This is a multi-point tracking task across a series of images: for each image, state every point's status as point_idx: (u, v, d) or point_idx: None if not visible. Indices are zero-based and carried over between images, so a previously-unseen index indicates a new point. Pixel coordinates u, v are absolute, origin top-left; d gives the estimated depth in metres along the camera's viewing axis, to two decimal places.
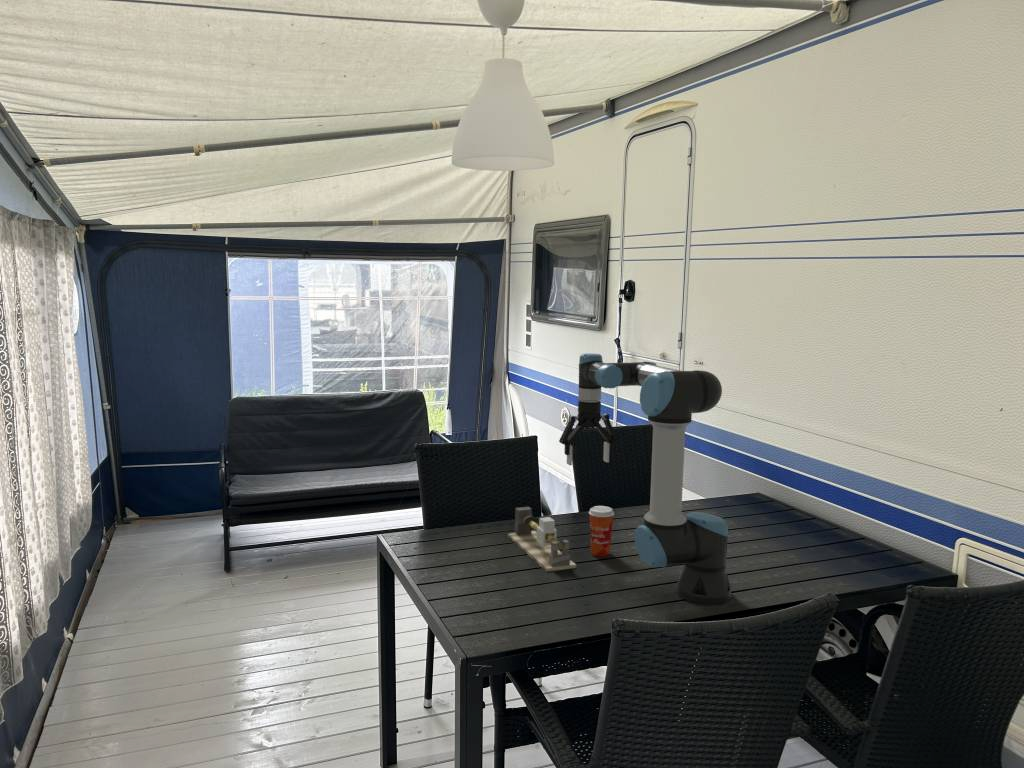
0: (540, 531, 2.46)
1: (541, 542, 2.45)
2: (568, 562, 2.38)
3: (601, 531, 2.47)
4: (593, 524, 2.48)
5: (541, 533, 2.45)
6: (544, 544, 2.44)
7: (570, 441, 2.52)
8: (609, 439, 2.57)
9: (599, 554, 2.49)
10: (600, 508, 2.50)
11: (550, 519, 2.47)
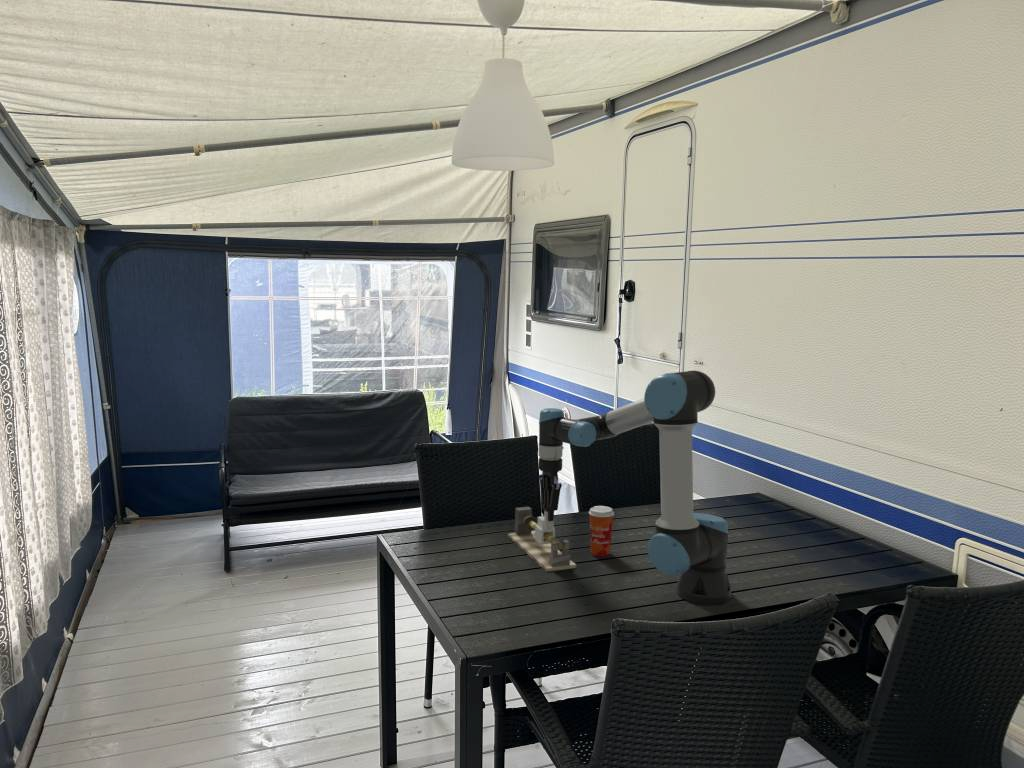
0: (538, 530, 2.47)
1: (539, 541, 2.46)
2: (568, 562, 2.38)
3: (601, 531, 2.47)
4: (593, 524, 2.48)
5: (539, 532, 2.46)
6: (542, 543, 2.46)
7: (544, 503, 2.45)
8: (547, 506, 2.42)
9: (599, 554, 2.49)
10: (600, 508, 2.50)
11: None
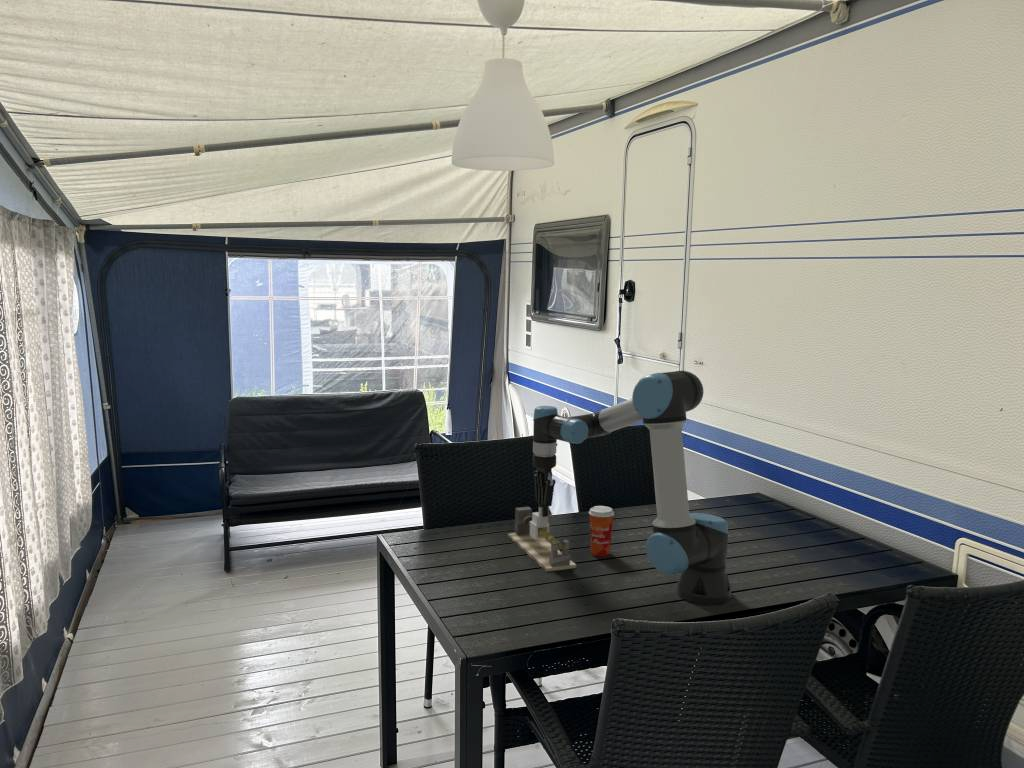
0: (533, 525, 2.51)
1: (534, 536, 2.51)
2: (568, 562, 2.38)
3: (602, 531, 2.47)
4: (593, 524, 2.48)
5: (534, 527, 2.50)
6: (537, 538, 2.50)
7: (538, 499, 2.49)
8: (541, 502, 2.47)
9: (599, 554, 2.49)
10: (600, 508, 2.50)
11: None
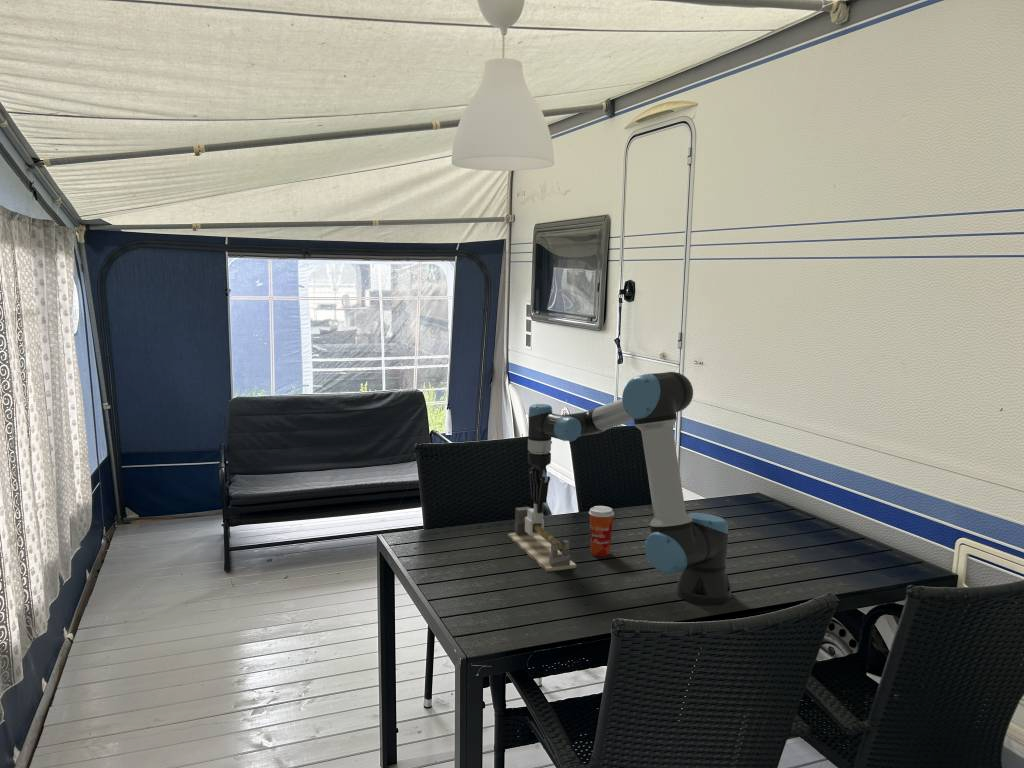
0: (528, 521, 2.55)
1: (529, 532, 2.55)
2: (568, 562, 2.38)
3: (601, 531, 2.47)
4: (593, 524, 2.48)
5: (529, 523, 2.54)
6: (532, 534, 2.54)
7: (533, 496, 2.53)
8: (536, 499, 2.51)
9: (599, 554, 2.49)
10: (600, 508, 2.50)
11: None
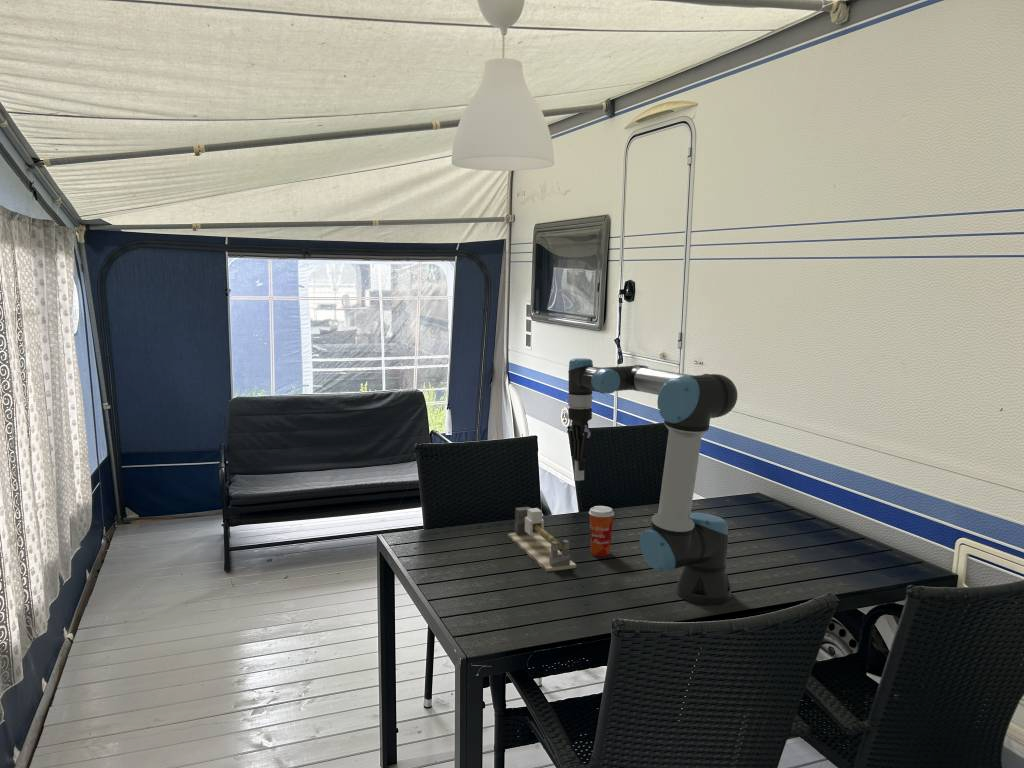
0: (528, 521, 2.55)
1: (529, 532, 2.55)
2: (568, 562, 2.38)
3: (602, 531, 2.47)
4: (593, 524, 2.48)
5: (529, 523, 2.54)
6: (532, 534, 2.54)
7: (574, 454, 2.46)
8: (578, 456, 2.44)
9: (599, 554, 2.49)
10: (600, 508, 2.50)
11: (537, 509, 2.56)
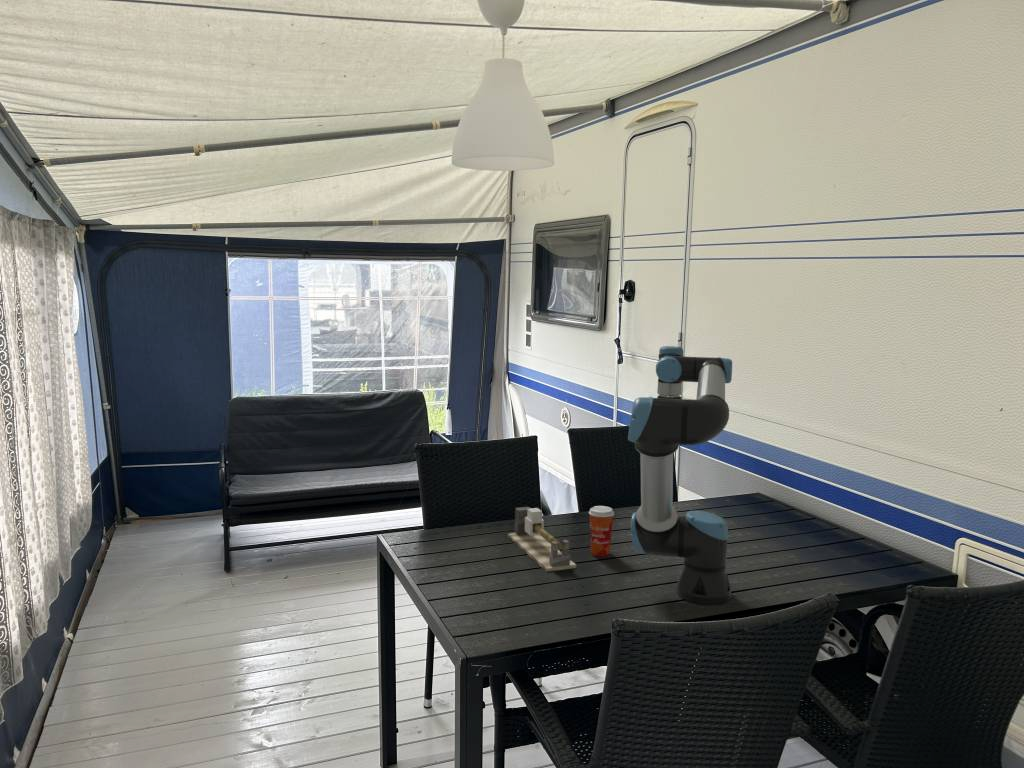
0: (528, 521, 2.55)
1: (529, 532, 2.55)
2: (568, 562, 2.38)
3: (602, 531, 2.47)
4: (593, 524, 2.48)
5: (529, 523, 2.54)
6: (532, 534, 2.54)
7: None
8: None
9: (599, 554, 2.49)
10: (600, 508, 2.50)
11: (537, 509, 2.56)
